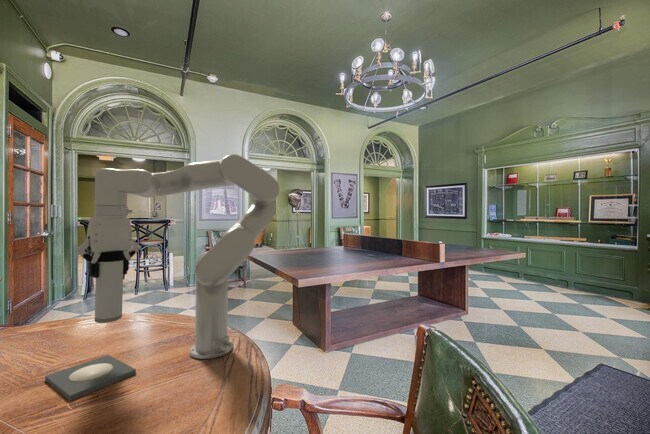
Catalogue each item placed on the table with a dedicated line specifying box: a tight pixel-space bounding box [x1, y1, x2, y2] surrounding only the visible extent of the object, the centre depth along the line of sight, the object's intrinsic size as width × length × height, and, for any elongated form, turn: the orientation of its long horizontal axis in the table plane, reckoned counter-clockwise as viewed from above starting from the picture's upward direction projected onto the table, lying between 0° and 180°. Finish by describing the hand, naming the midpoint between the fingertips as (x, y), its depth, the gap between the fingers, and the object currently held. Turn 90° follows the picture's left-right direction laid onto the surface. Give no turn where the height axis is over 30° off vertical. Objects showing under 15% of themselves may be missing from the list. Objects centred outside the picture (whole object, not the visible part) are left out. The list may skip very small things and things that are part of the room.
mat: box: [44, 354, 137, 402], centre depth 77 cm, size 16×14×1 cm
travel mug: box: [94, 251, 124, 324], centre depth 83 cm, size 6×7×20 cm
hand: (109, 274), depth 83 cm, fingers closed on travel mug, 6 cm apart
